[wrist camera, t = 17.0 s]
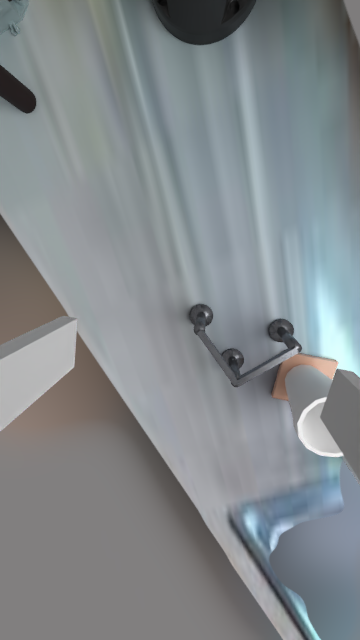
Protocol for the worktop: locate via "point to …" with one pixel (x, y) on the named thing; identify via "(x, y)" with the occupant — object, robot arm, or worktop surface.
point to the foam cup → (310, 408)
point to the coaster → (299, 359)
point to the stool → (3, 13)
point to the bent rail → (233, 357)
